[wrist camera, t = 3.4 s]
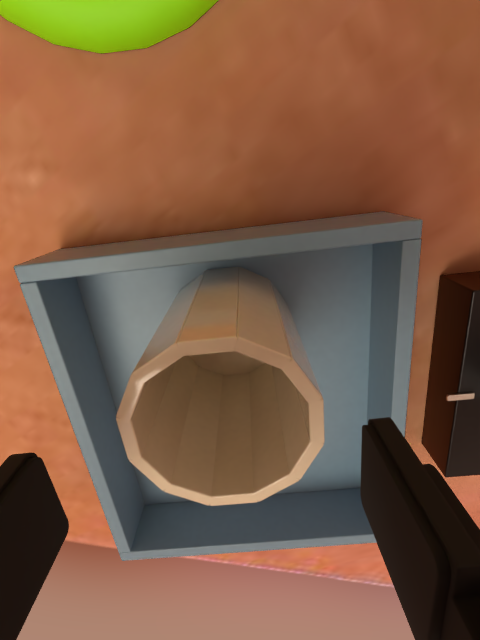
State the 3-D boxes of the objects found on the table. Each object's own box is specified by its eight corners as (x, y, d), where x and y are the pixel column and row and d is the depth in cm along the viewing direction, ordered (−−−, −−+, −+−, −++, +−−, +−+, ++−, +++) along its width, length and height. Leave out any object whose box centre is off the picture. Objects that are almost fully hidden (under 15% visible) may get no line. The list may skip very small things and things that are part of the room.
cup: (160, 274, 19) (94, 351, 10) (285, 260, 18) (322, 327, 10) (182, 381, 21) (143, 512, 13) (292, 370, 21) (326, 498, 12)
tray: (58, 249, 19) (12, 266, 15) (384, 211, 18) (423, 219, 14) (139, 505, 26) (121, 561, 22) (372, 487, 25) (395, 541, 21)
